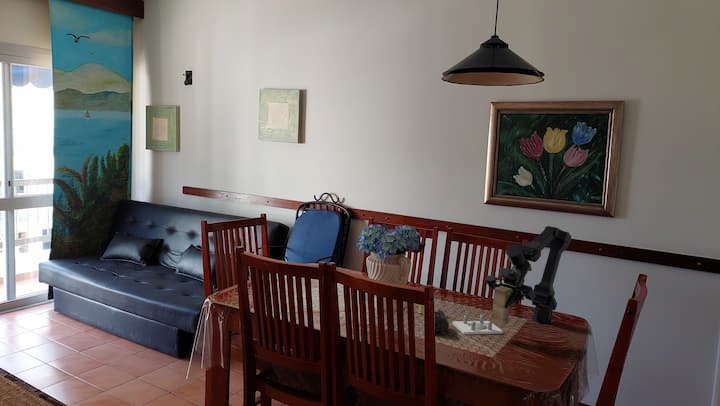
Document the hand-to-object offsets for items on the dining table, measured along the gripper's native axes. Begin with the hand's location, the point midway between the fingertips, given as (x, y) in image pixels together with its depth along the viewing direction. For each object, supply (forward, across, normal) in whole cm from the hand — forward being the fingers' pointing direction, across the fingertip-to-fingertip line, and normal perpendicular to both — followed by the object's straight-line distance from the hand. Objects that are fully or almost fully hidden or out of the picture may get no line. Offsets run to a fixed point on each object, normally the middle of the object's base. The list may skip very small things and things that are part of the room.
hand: (499, 305), depth 185 cm
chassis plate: (+7, -11, +11) cm, 17 cm away
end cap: (+18, -18, +1) cm, 26 cm away
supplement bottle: (+10, -35, +9) cm, 37 cm away
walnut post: (+4, 0, +6) cm, 7 cm away
